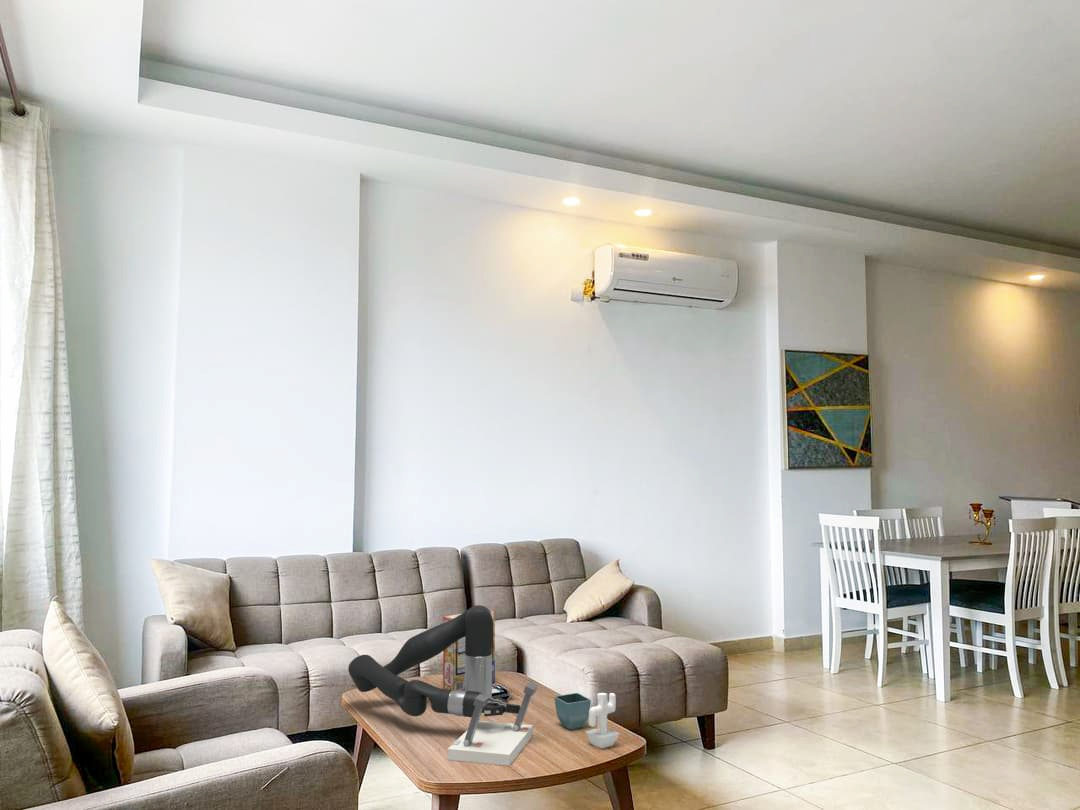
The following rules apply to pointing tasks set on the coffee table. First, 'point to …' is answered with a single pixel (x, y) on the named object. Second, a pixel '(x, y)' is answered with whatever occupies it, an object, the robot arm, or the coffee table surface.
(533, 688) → the lever
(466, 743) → the lever
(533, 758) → the coffee table surface
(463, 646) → the board game box
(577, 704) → the flower pot
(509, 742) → the switch base
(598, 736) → the figurine
